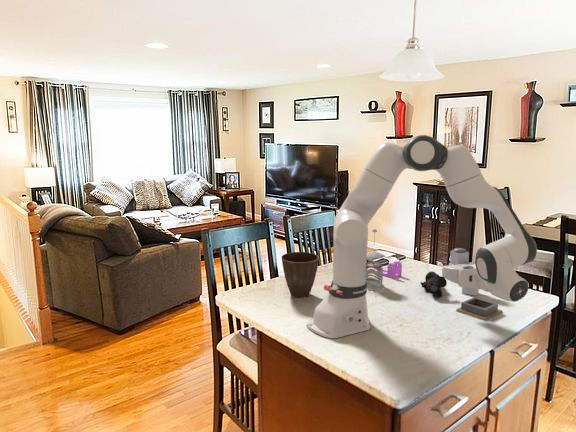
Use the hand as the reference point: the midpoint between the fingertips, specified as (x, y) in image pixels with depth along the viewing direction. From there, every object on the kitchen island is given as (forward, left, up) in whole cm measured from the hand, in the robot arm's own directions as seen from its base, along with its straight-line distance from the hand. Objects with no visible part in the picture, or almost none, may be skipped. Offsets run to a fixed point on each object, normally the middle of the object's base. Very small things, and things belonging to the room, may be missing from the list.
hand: (457, 264), depth 158 cm
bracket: (+14, +43, -18) cm, 49 cm away
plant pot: (-34, +48, -18) cm, 61 cm away
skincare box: (+21, +6, -18) cm, 28 cm away
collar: (+6, -6, -18) cm, 20 cm away
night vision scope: (+11, +17, -18) cm, 27 cm away
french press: (-4, +37, -18) cm, 41 cm away
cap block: (0, -1, -6) cm, 6 cm away
